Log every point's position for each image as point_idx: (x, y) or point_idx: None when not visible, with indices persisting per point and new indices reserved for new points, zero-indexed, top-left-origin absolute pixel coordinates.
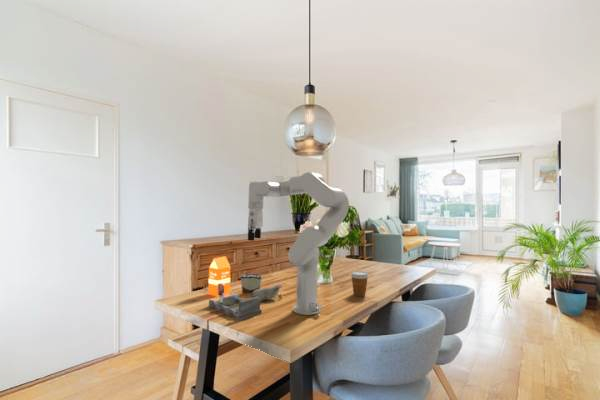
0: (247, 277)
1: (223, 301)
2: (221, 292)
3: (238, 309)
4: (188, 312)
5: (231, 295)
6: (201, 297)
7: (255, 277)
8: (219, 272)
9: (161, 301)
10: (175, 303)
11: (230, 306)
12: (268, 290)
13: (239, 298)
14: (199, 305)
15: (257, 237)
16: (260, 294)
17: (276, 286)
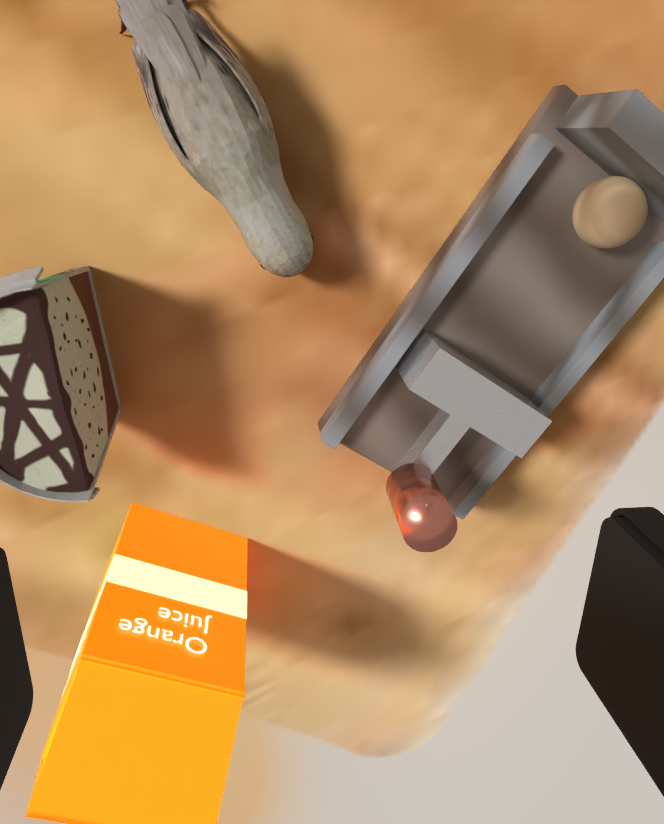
0: (75, 429)
1: (535, 407)
2: (437, 483)
3: (560, 272)
4: (555, 548)
5: (485, 387)
6: (288, 617)
7: (51, 347)
8: (228, 666)
9: (401, 747)
10: (422, 677)
11: (504, 352)
12: (252, 114)
13: (395, 341)
14: (437, 554)
15: (14, 628)
16: (288, 192)
17: (173, 28)
